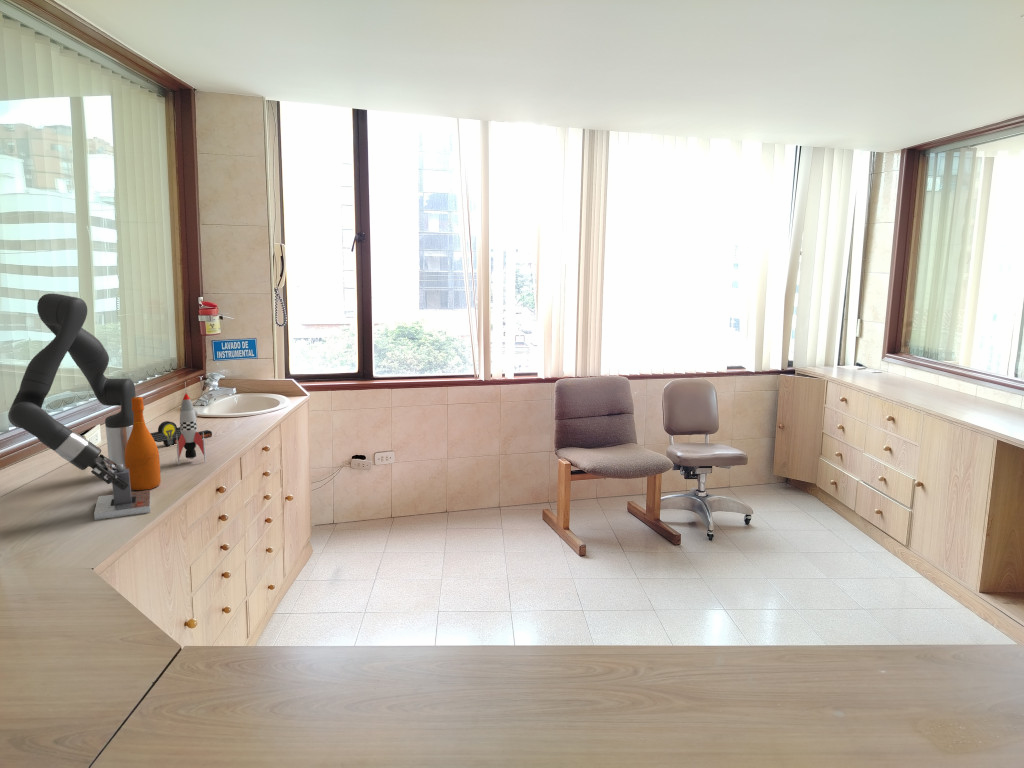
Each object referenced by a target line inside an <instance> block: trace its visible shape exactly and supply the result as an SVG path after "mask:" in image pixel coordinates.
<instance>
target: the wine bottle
mask: <svg viewBox="0 0 1024 768" xmlns="http://www.w3.org/2000/svg"><path fill="white" fill-rule="evenodd" d="M131 401H132V411H133V412H134V423H133V429H132V432H131V434H130V437H129V439H128V442H127V445H126V449H125V466H126V469H129V474H130V485H131V491H146V490H152V489H154V488H155V489H156V487H158V486H160V484H161V476H162V475H161V461H160V452H159V449H158V445H157V442H156V441H154V439H153V437H152V436H151V434H150V433H151V432H150V431H149V429H148V427H147V425H146V422H145V419H144V410H145V405H144V398H143V397H142V396H136V397H133V398H132V399H131Z"/></svg>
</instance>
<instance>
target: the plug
mask: <svg viewBox="0 0 1024 768" xmlns="http://www.w3.org/2000/svg"><path fill="white" fill-rule="evenodd" d="M116 468H117V470H114V474H116V475H117V476H118V477H119V478H121V479H122V480H124V481H125V482H127V483H128V487H127V488H126V489H125V490H122V489H120V488H119V487H117V486H116V485H114V484H113V483H112V485H111V487H112V495H113V497H114V506H116V505H123V504H131V503H132V496H131V492H132V489H131V485H130V474H129V469H124V468H123V464H118V465H116Z"/></svg>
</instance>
